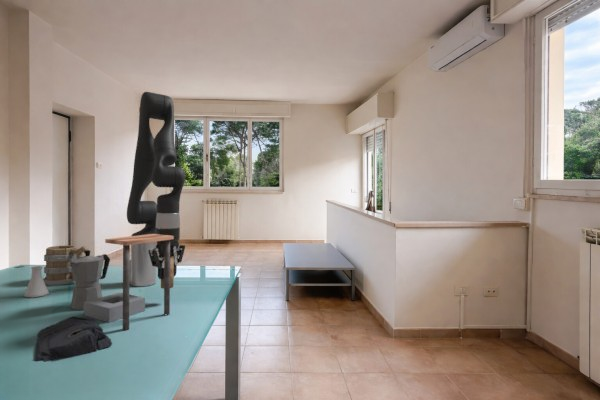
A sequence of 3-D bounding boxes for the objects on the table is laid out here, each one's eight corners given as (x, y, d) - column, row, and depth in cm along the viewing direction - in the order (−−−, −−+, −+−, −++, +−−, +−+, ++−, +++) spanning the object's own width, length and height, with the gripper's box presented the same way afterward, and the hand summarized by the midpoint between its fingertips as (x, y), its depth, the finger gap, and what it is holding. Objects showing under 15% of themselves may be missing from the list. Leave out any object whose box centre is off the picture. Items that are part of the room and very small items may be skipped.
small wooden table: (104, 325, 103) (105, 239, 102) (152, 309, 117) (152, 233, 116) (126, 331, 98) (126, 241, 98) (172, 314, 112) (173, 235, 112)
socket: (83, 315, 110) (83, 301, 110) (119, 304, 121) (120, 292, 121) (109, 322, 105) (109, 308, 105) (144, 310, 115) (145, 298, 115)
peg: (158, 287, 123) (158, 257, 122) (167, 284, 126) (168, 255, 126) (166, 289, 121) (167, 258, 120) (176, 286, 124) (176, 257, 124)
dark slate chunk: (101, 322, 106) (101, 306, 106) (113, 350, 88) (113, 331, 88) (35, 333, 97) (35, 315, 97) (34, 367, 79) (34, 345, 79)
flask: (53, 294, 132) (53, 266, 132) (31, 299, 125) (31, 270, 125) (41, 291, 135) (41, 264, 135) (19, 296, 128) (19, 267, 128)
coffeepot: (80, 313, 112) (81, 254, 111) (57, 310, 115) (57, 252, 114) (119, 299, 126) (120, 247, 126) (98, 296, 129) (98, 245, 129)
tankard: (35, 283, 146) (35, 245, 146) (66, 276, 158) (66, 241, 158) (70, 289, 139) (70, 249, 138) (100, 281, 151) (100, 244, 150)
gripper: (176, 223, 131) (175, 272, 131) (142, 227, 118) (141, 280, 119) (192, 225, 127) (191, 274, 128) (158, 229, 115) (157, 283, 115)
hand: (167, 277), depth 123 cm, fingers closed on peg, 4 cm apart
